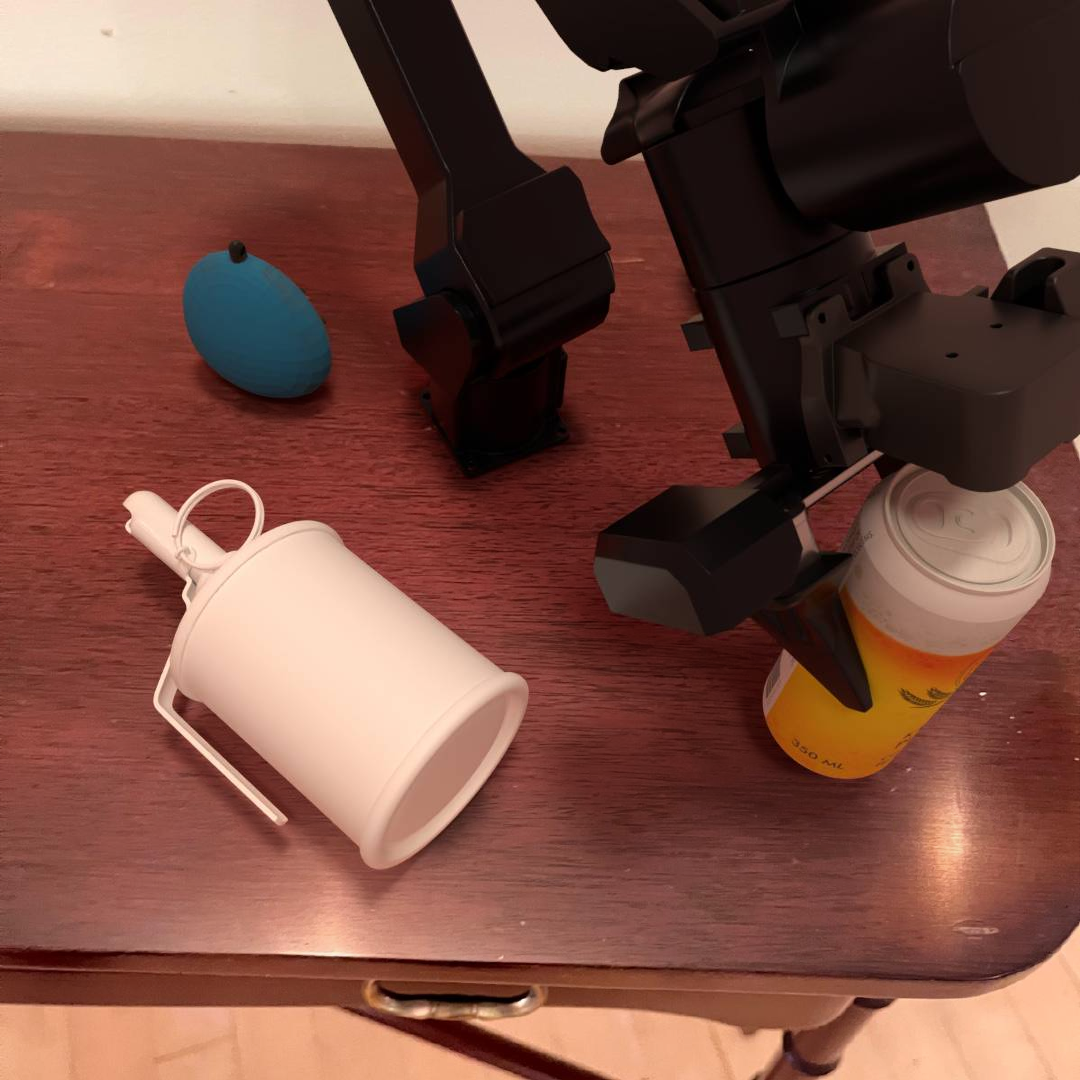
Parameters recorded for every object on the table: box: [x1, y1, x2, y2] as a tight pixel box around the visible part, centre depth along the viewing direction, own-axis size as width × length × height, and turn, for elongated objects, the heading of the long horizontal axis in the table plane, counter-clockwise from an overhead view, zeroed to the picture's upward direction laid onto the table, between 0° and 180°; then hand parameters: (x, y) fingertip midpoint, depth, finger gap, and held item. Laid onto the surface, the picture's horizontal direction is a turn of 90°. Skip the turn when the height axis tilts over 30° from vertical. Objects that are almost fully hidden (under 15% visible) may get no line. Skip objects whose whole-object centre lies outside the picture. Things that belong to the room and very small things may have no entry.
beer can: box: [762, 463, 1056, 780], centre depth 38 cm, size 6×6×15 cm
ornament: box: [182, 239, 333, 399], centre depth 53 cm, size 8×5×10 cm, turn 70°
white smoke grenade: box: [122, 479, 530, 870], centre depth 43 cm, size 10×9×20 cm
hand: (916, 661), depth 37 cm, fingers closed on beer can, 6 cm apart
